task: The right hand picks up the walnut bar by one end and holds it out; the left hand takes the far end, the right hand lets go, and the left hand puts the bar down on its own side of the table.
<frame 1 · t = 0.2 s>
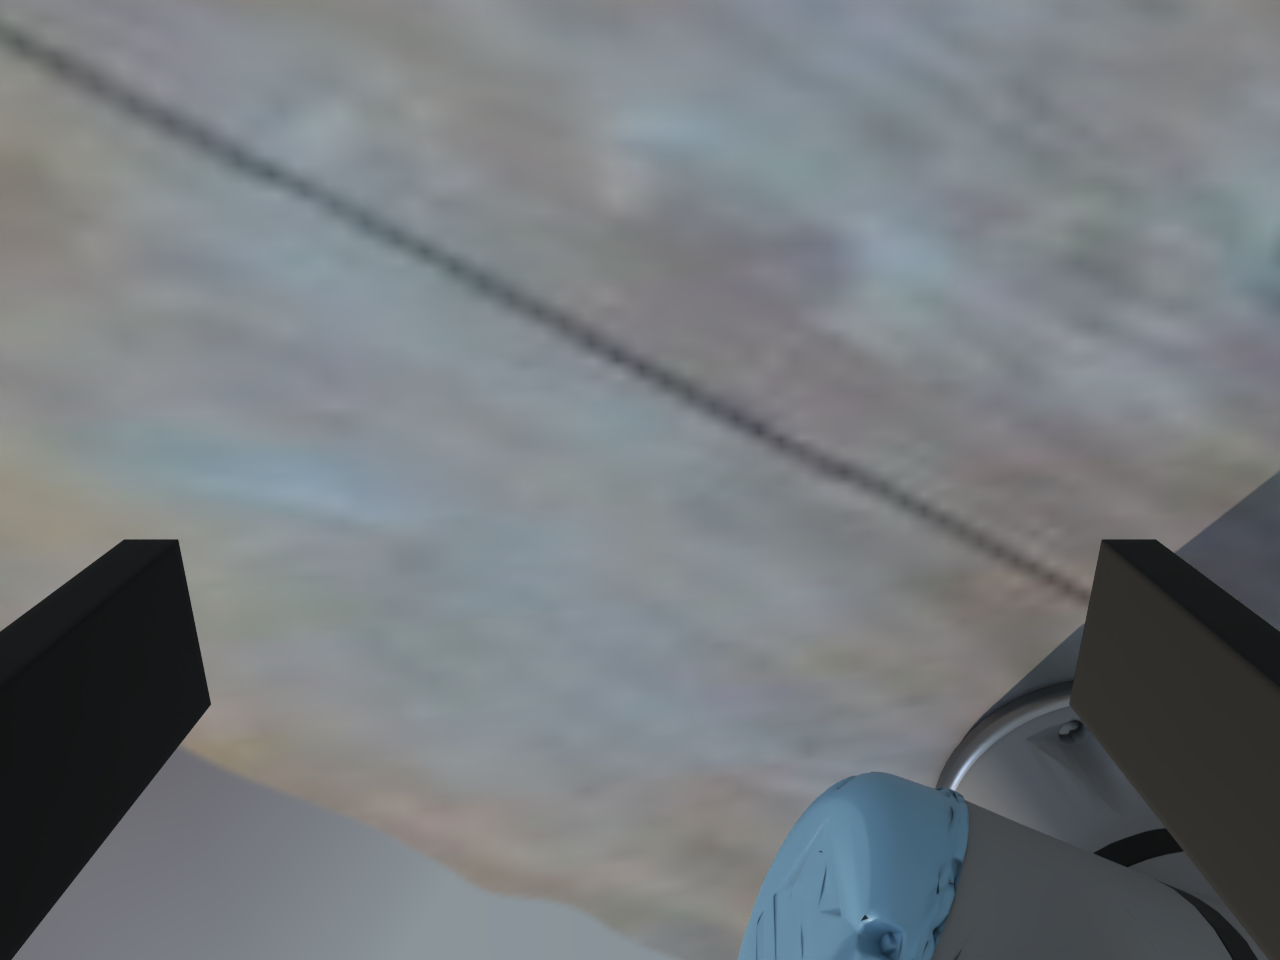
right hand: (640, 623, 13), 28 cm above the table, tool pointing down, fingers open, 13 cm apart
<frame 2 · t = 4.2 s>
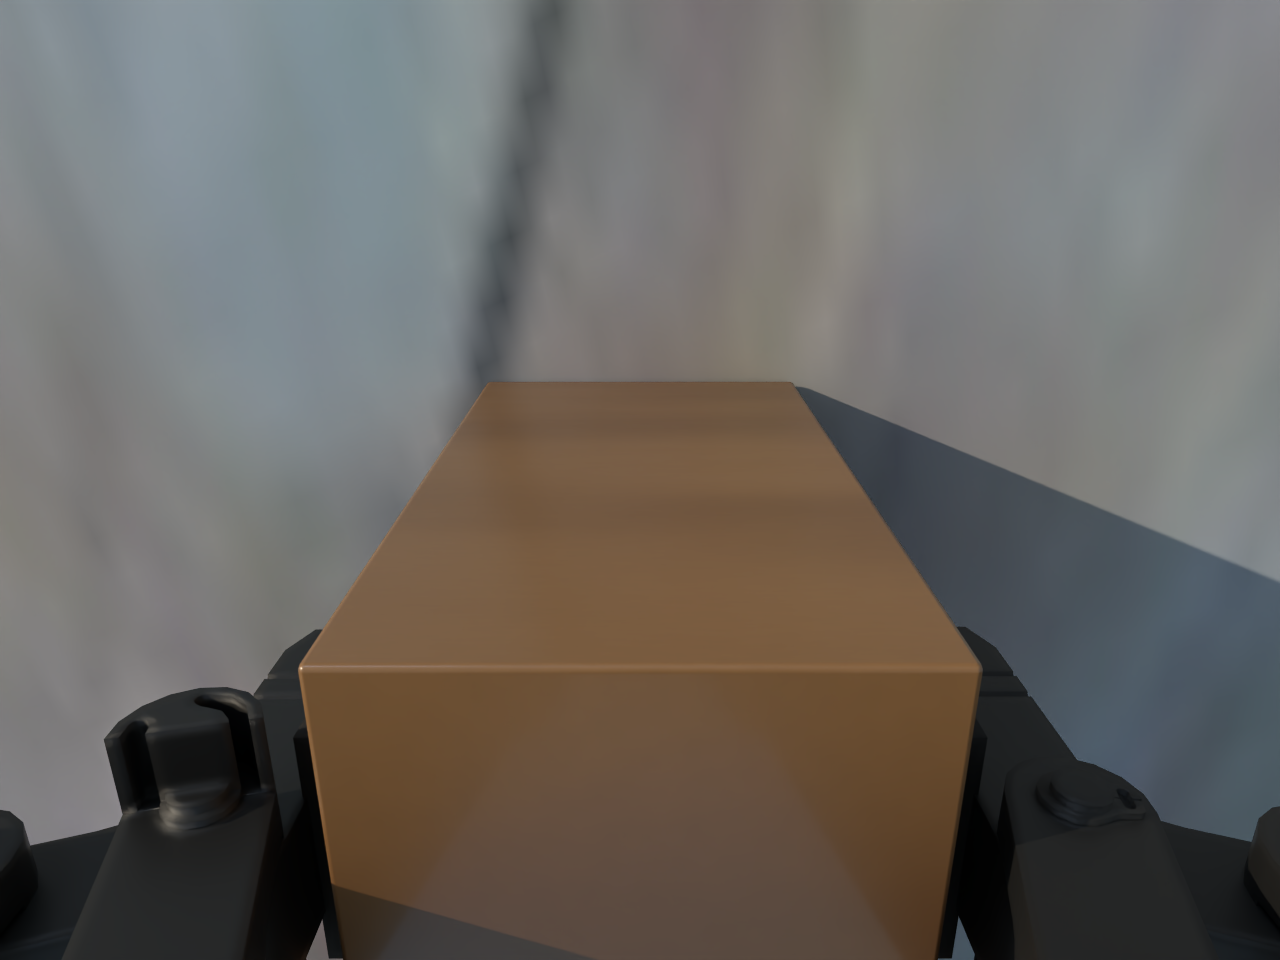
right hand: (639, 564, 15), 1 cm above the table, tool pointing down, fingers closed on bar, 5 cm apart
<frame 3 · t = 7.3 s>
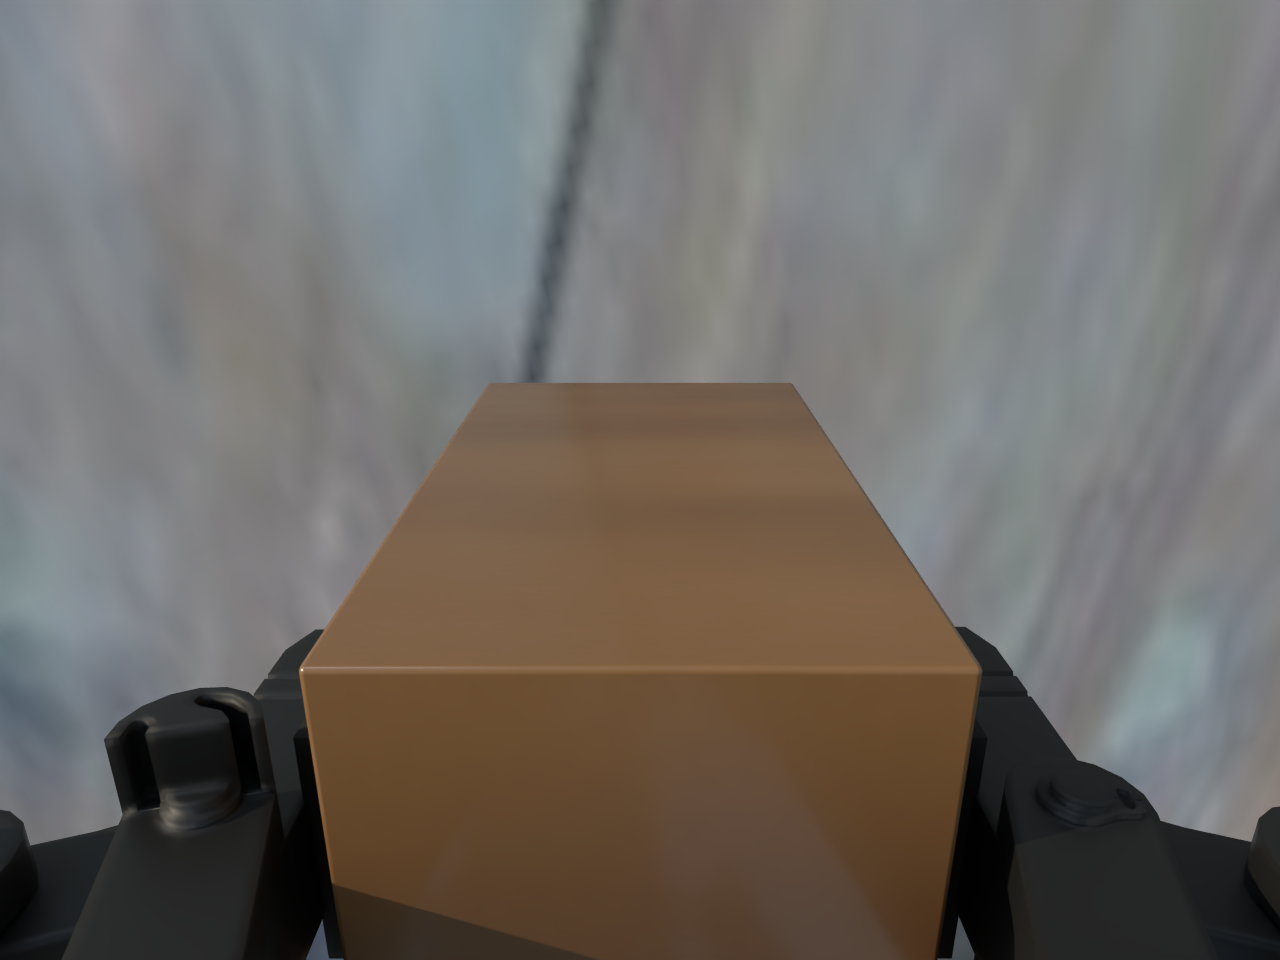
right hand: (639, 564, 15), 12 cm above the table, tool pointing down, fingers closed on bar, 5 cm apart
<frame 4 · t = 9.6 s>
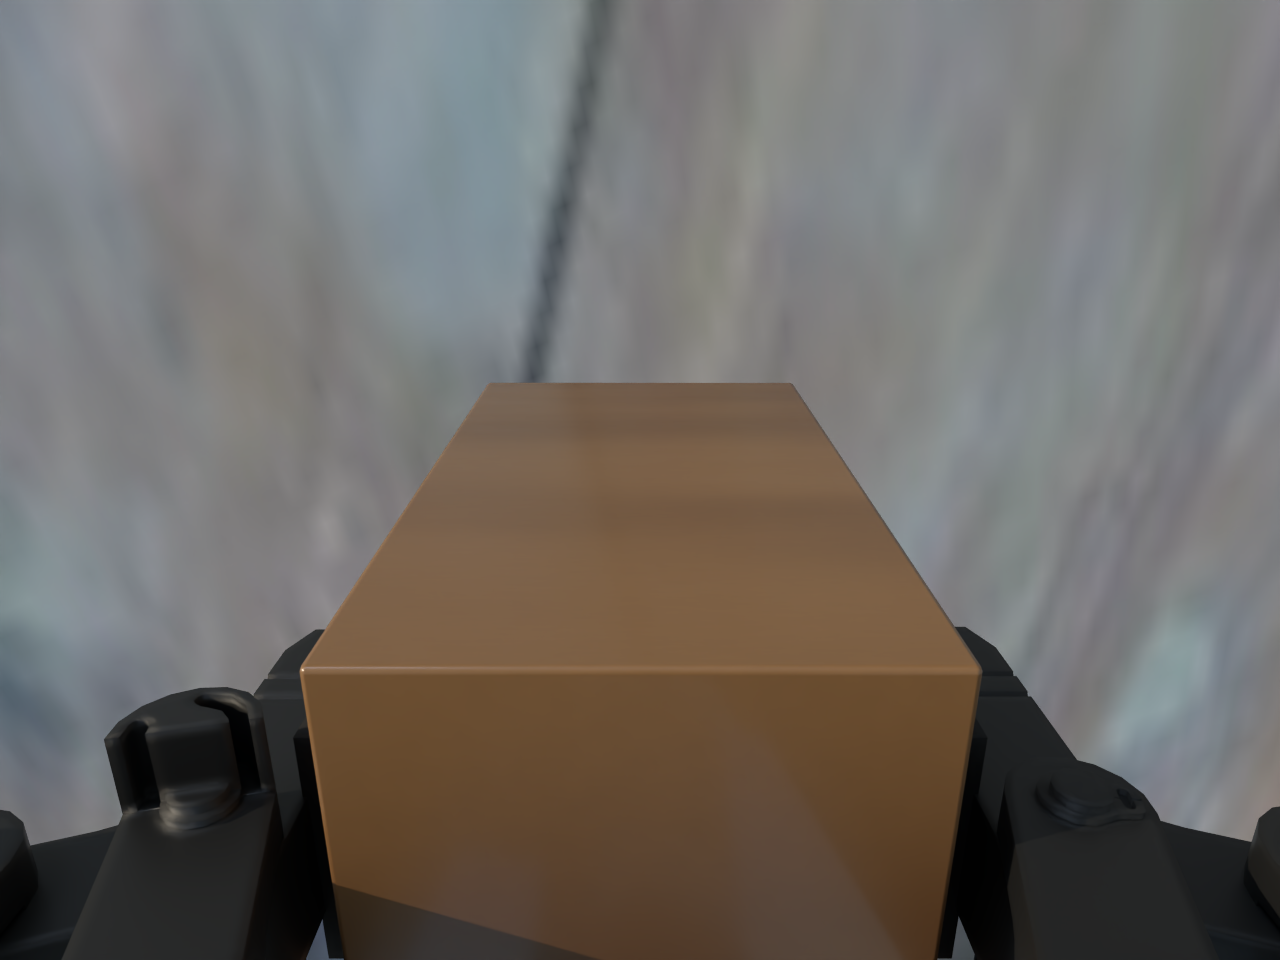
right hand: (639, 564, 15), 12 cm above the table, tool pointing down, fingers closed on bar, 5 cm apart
when the right hand's fingers open (12 cm above the table, at t = 10.2 s): bar stays where it is, held by the left hand.
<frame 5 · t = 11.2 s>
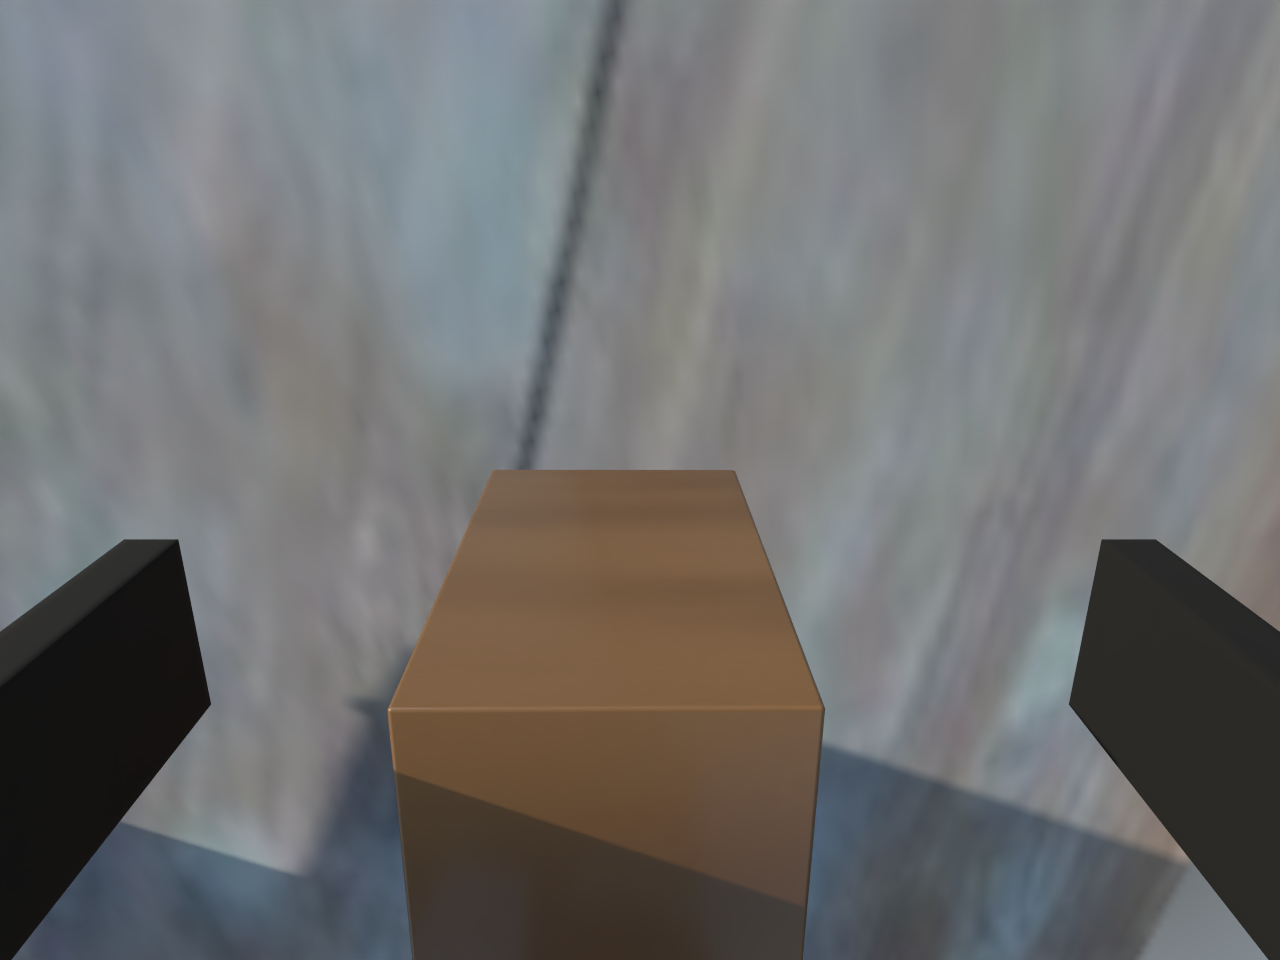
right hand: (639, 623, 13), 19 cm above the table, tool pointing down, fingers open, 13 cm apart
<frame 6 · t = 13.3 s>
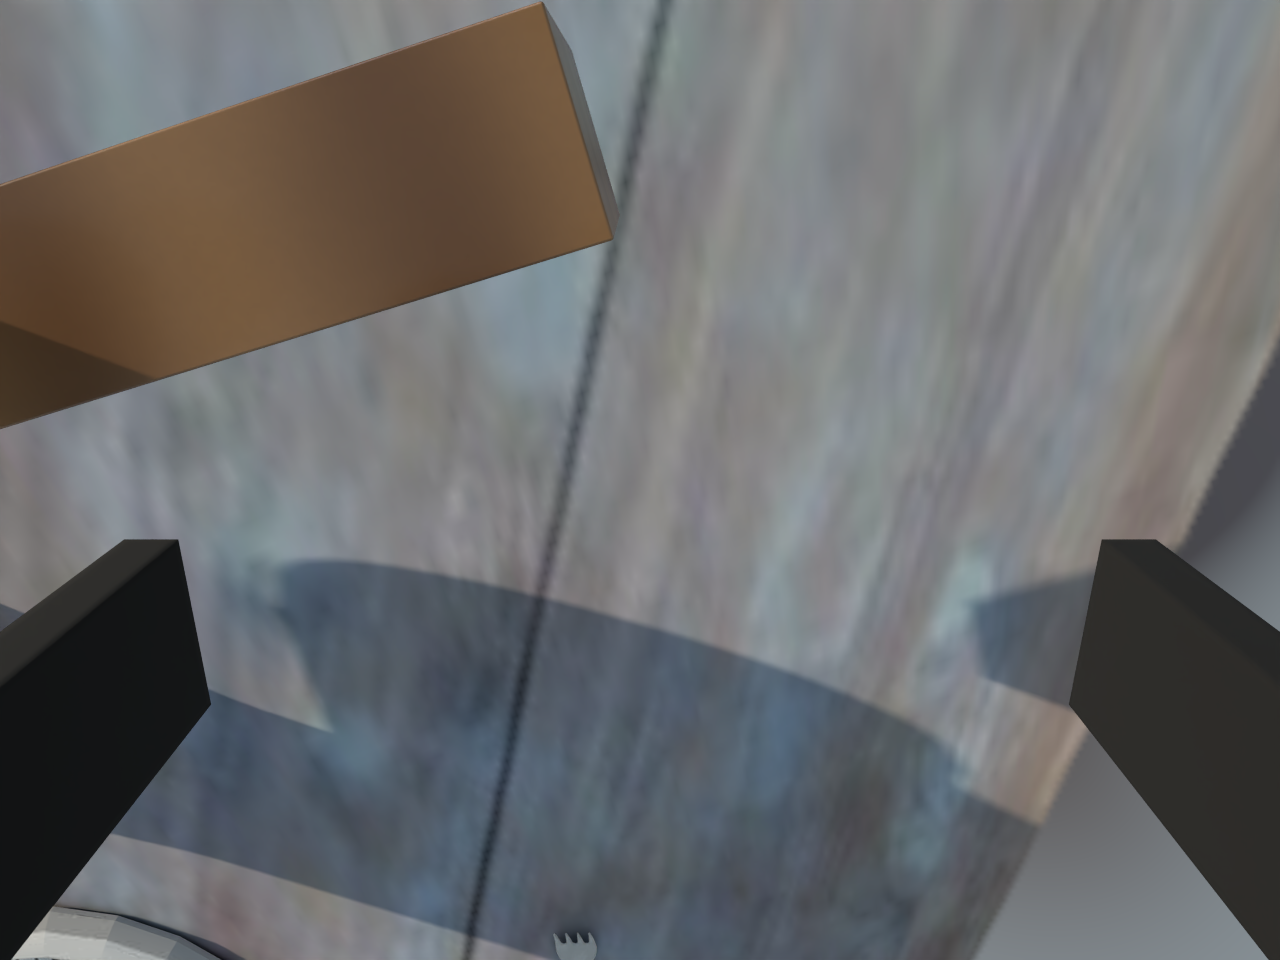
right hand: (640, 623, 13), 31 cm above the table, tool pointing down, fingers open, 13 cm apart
bar: (205, 260, 28), point 14 cm above the table, touching left hand
when the left hand's fingers open (2 cm above the table, at t = 17.2 s): bar drops 1 cm, on the table.
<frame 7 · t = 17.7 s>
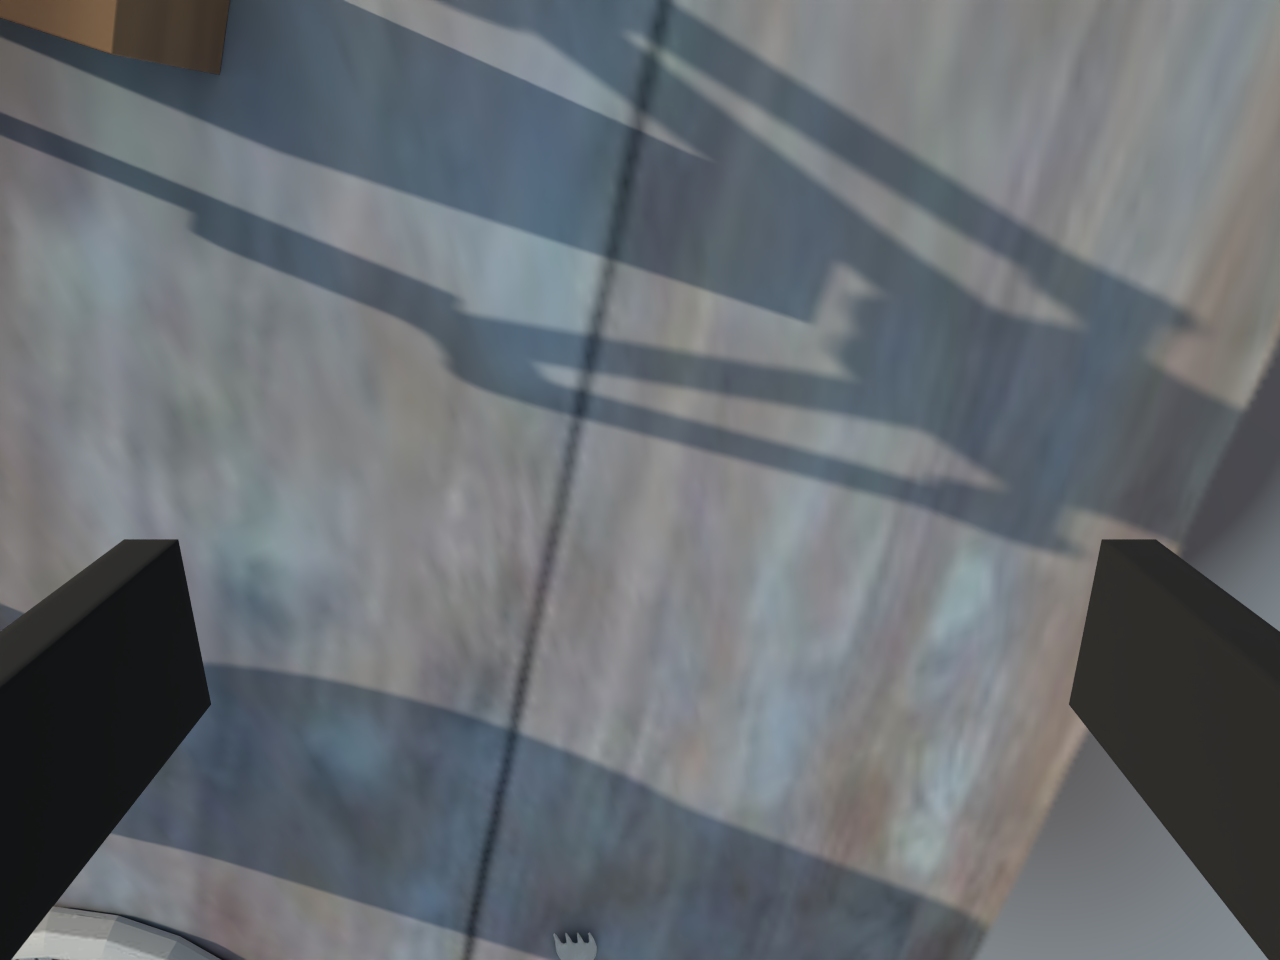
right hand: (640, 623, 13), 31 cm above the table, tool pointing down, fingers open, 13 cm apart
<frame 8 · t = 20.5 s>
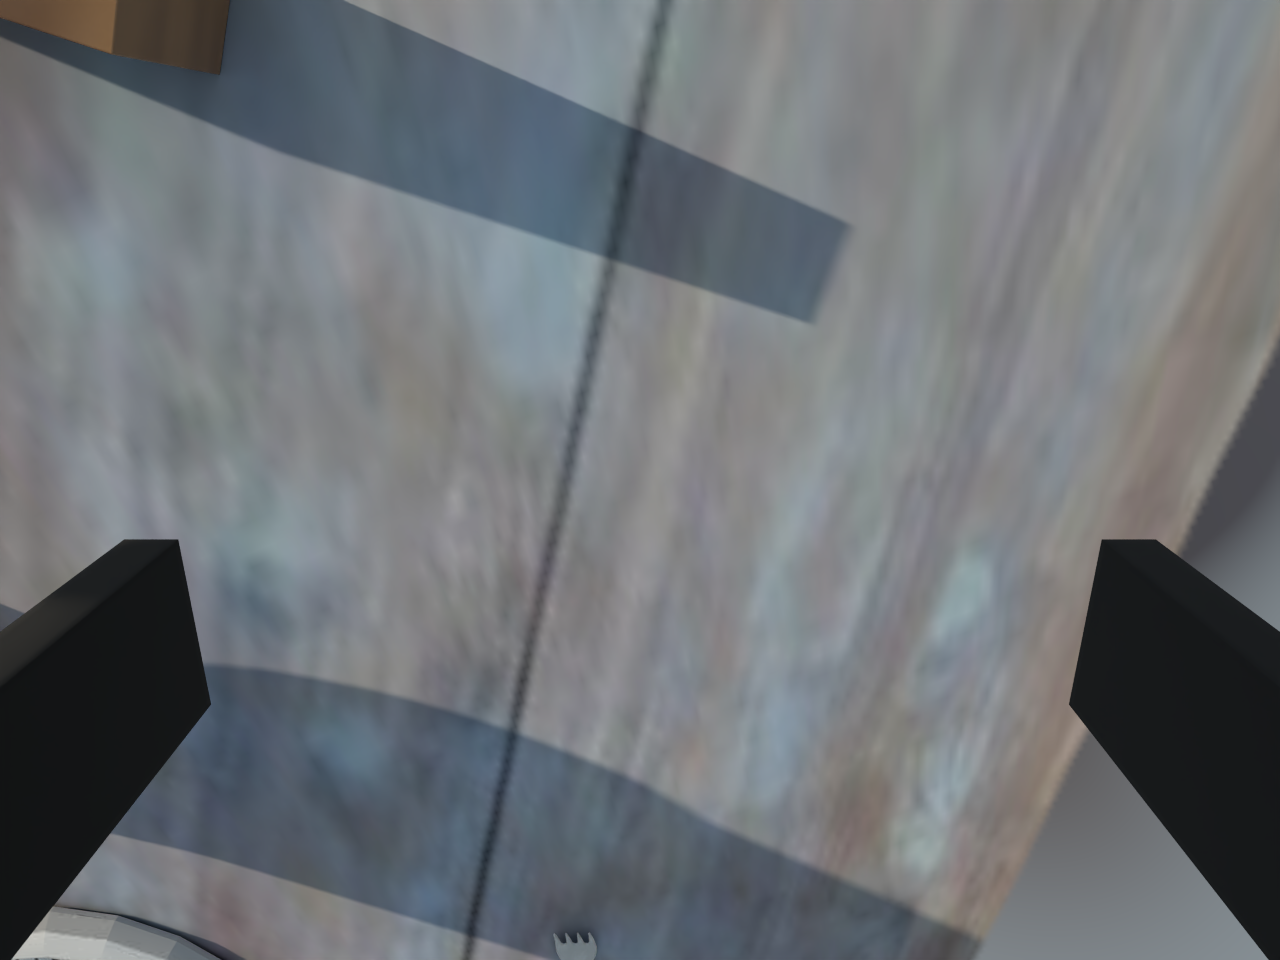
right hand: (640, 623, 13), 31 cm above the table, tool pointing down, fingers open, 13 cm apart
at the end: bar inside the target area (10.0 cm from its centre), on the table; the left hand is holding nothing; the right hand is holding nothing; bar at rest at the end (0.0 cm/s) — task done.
